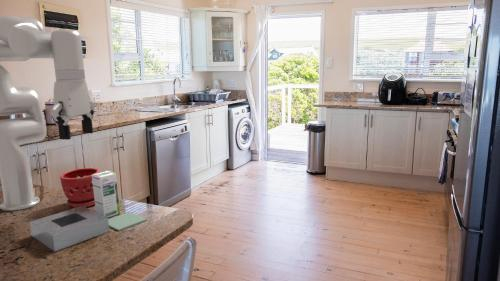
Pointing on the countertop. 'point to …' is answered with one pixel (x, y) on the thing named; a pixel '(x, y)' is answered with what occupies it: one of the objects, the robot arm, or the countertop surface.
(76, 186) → the plant pot
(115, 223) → the rubber mat
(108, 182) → the syrup box
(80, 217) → the socket block
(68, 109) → the robot arm
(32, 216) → the countertop surface
